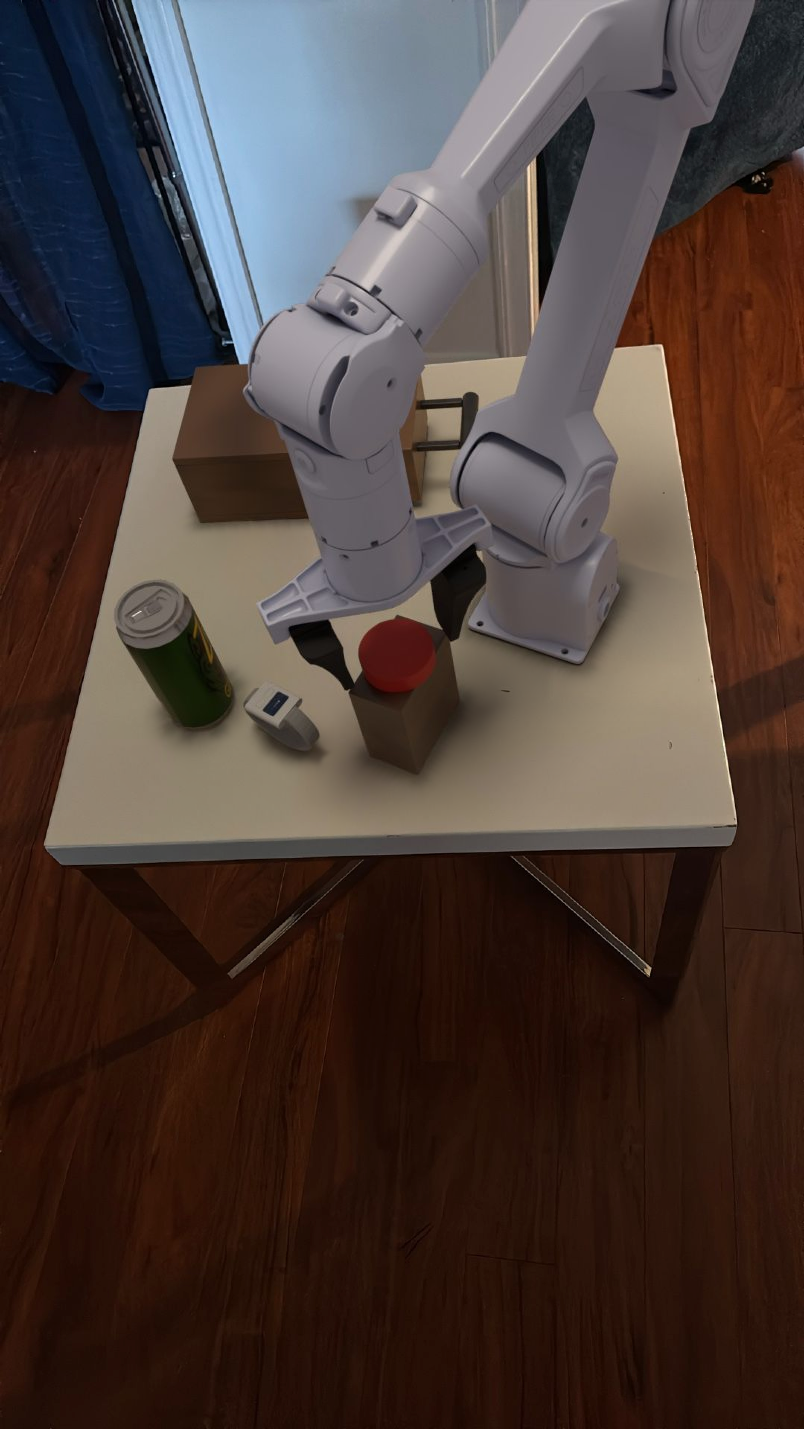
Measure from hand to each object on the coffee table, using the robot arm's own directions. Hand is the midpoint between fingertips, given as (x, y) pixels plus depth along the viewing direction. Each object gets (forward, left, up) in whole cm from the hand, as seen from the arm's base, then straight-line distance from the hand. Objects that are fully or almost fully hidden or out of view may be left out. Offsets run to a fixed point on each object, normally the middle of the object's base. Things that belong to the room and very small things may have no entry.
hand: (396, 653), depth 69 cm
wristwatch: (+8, +4, -10) cm, 14 cm away
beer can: (+16, +4, -10) cm, 20 cm away
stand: (0, 0, -9) cm, 9 cm away
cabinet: (+23, -19, -9) cm, 32 cm away
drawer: (+15, -23, -9) cm, 28 cm away
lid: (0, 0, -1) cm, 1 cm away
